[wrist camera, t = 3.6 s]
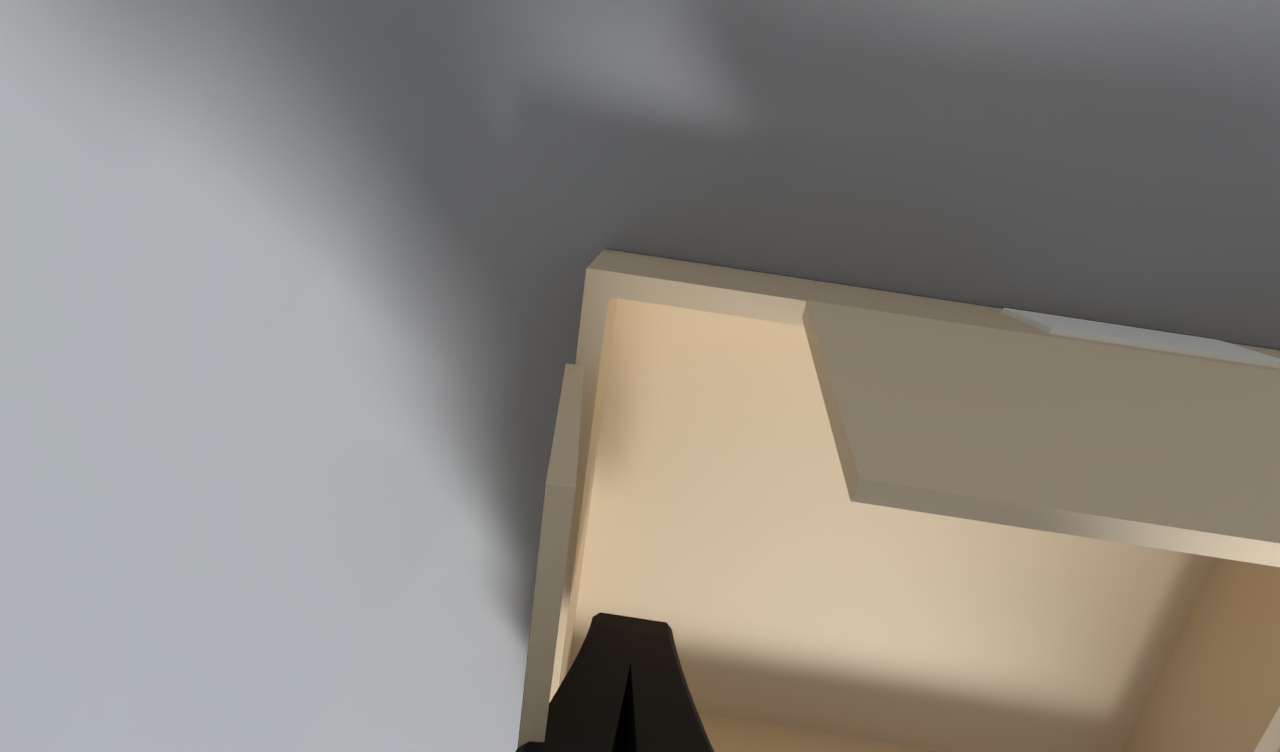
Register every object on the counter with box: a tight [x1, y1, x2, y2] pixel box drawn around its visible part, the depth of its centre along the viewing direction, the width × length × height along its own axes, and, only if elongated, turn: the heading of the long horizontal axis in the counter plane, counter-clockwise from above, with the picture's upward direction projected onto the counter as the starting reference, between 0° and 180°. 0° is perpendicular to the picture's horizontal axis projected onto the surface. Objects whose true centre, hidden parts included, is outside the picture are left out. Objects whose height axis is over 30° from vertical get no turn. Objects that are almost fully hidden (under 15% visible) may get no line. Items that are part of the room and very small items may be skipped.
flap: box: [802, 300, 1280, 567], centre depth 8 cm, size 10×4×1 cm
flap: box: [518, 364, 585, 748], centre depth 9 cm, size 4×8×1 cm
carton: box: [549, 249, 1280, 752], centre depth 13 cm, size 18×15×3 cm
